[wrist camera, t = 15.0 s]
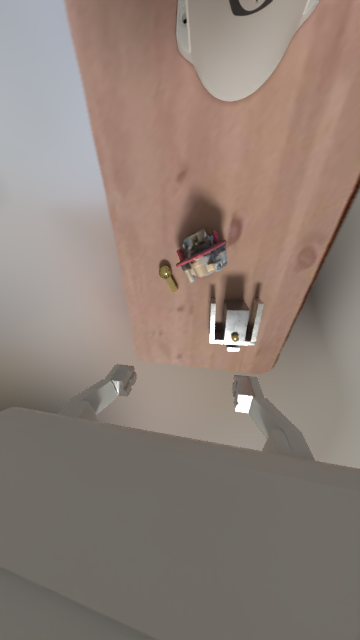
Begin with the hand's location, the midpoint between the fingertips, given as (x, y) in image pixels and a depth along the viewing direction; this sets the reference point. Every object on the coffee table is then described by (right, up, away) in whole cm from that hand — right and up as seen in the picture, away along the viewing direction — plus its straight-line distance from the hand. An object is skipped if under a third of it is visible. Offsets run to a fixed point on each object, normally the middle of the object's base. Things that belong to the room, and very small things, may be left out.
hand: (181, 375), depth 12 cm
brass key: (-3, +16, +28) cm, 32 cm away
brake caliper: (+5, +21, +24) cm, 32 cm away
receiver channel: (+15, +5, +30) cm, 34 cm away
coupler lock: (+15, +6, +30) cm, 34 cm away
